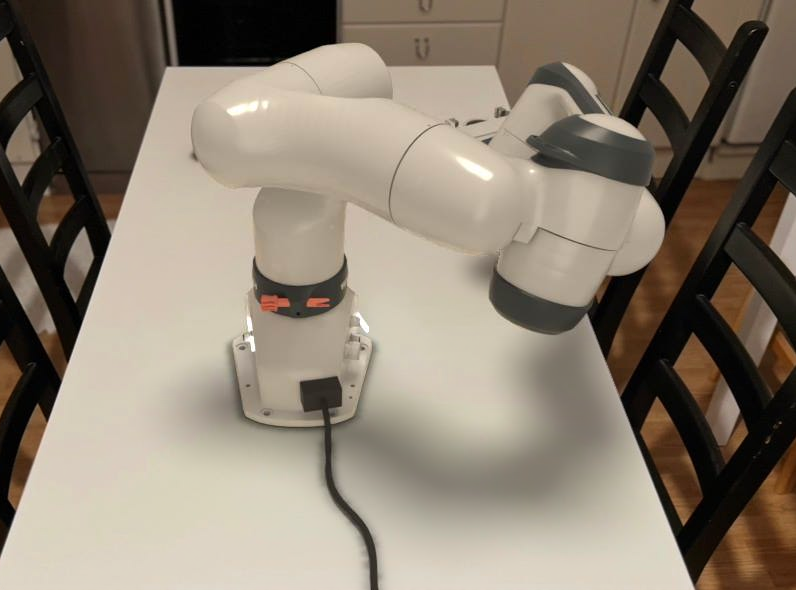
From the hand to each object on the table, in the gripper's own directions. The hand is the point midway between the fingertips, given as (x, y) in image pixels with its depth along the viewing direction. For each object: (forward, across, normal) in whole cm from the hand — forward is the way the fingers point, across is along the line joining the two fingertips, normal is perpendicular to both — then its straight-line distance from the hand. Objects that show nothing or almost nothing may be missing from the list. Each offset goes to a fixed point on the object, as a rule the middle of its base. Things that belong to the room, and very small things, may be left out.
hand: (473, 117), depth 146 cm
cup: (-2, 0, +13) cm, 13 cm away
